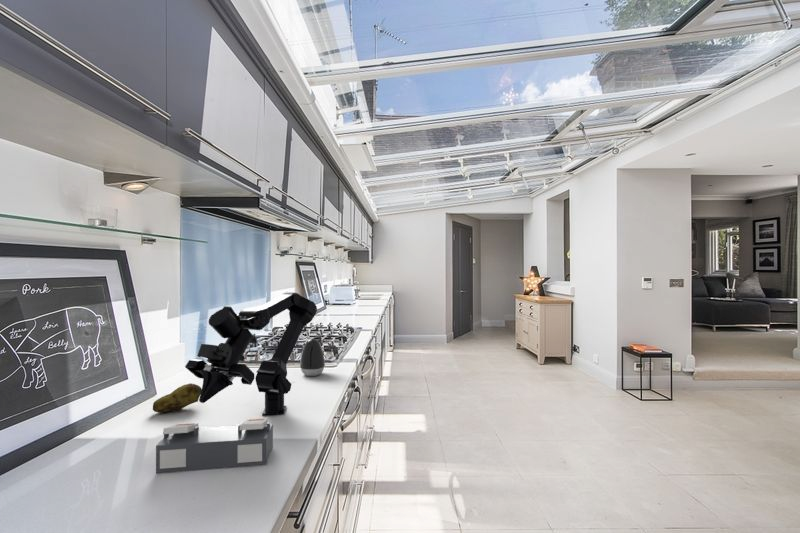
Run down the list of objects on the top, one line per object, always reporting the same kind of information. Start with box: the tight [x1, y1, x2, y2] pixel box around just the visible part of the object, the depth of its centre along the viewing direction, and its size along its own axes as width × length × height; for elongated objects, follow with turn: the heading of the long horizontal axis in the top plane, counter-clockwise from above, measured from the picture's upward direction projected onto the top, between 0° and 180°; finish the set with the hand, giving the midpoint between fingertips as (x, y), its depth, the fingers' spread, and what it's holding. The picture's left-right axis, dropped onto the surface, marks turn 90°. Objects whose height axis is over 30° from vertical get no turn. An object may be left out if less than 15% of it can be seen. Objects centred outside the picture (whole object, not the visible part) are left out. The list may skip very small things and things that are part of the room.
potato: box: [152, 383, 202, 414], centre depth 124 cm, size 8×13×8 cm, turn 99°
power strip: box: [155, 421, 274, 474], centre depth 91 cm, size 9×23×8 cm, turn 99°
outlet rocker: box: [162, 422, 199, 435], centre depth 90 cm, size 7×5×1 cm
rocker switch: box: [239, 417, 269, 430], centre depth 93 cm, size 7×5×1 cm
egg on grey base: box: [299, 338, 326, 377], centre depth 165 cm, size 10×10×15 cm
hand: (201, 402), depth 97 cm, fingers closed
